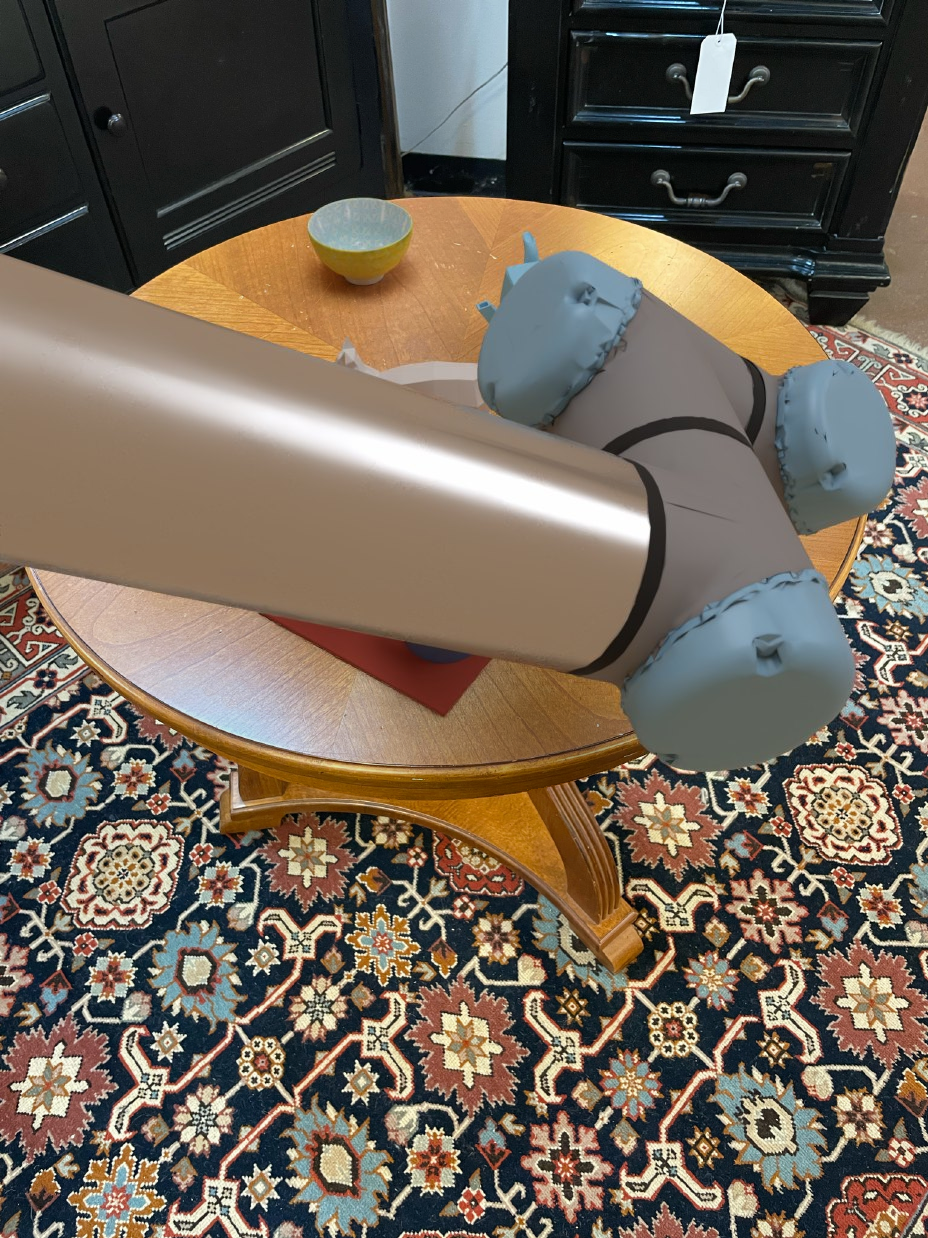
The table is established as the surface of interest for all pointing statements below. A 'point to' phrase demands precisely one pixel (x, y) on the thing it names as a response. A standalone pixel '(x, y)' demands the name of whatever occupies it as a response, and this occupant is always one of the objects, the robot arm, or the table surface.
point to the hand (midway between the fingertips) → (405, 584)
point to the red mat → (394, 663)
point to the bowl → (361, 237)
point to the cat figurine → (426, 377)
